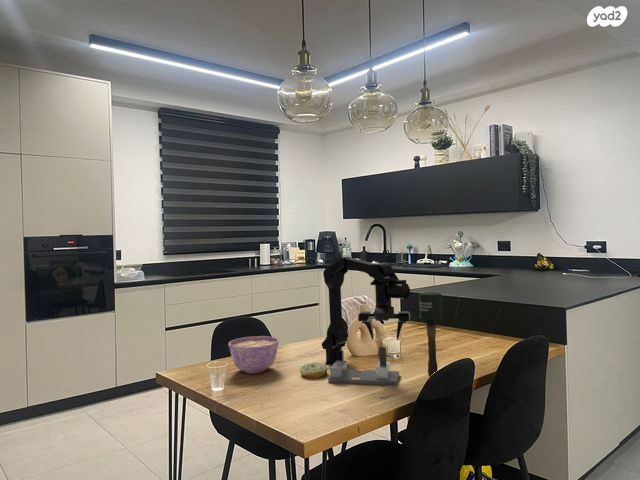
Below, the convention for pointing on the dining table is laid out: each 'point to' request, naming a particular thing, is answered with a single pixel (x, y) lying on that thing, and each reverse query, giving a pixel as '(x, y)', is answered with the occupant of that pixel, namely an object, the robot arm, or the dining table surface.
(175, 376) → the dining table surface
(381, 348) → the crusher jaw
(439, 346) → the dining table surface
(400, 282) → the robot arm
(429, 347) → the stick grenade
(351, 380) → the base
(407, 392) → the dining table surface
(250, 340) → the bowl of food
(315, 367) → the decorated donut
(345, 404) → the dining table surface
